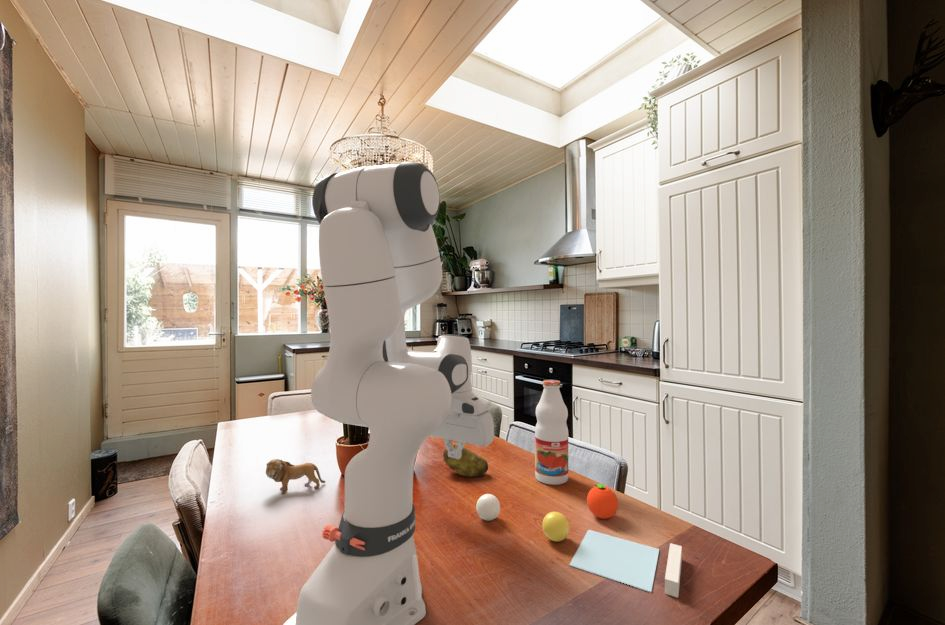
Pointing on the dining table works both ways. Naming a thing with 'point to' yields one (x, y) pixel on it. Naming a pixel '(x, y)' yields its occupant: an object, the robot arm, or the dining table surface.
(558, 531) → the yellow ball
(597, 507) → the clementine
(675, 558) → the rail
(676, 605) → the dining table surface
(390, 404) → the robot arm
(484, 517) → the cue ball
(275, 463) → the lion figurine
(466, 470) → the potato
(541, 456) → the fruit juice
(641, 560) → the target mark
